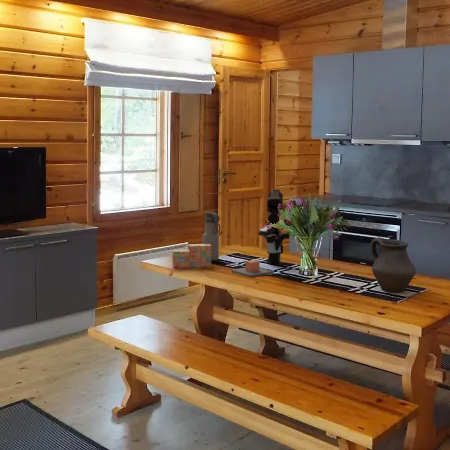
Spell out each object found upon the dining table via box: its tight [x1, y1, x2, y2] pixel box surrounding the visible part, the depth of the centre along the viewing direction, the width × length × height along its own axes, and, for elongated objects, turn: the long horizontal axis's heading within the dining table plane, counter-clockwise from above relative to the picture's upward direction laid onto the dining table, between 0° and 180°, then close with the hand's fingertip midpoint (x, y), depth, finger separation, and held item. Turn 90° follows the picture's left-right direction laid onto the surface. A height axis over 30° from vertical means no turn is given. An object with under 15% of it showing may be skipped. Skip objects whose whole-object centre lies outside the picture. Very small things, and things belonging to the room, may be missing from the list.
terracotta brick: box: [244, 259, 261, 272], centre depth 344 cm, size 6×4×5 cm
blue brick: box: [266, 242, 281, 254], centre depth 345 cm, size 6×4×5 cm
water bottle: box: [201, 211, 221, 262], centre depth 379 cm, size 10×10×28 cm
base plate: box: [231, 267, 274, 278], centre depth 345 cm, size 16×16×1 cm
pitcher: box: [370, 236, 417, 293], centre depth 307 cm, size 21×22×25 cm
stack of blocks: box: [171, 243, 212, 269], centre depth 360 cm, size 21×6×12 cm, turn 101°
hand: (273, 250), depth 345 cm, fingers closed on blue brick, 4 cm apart
